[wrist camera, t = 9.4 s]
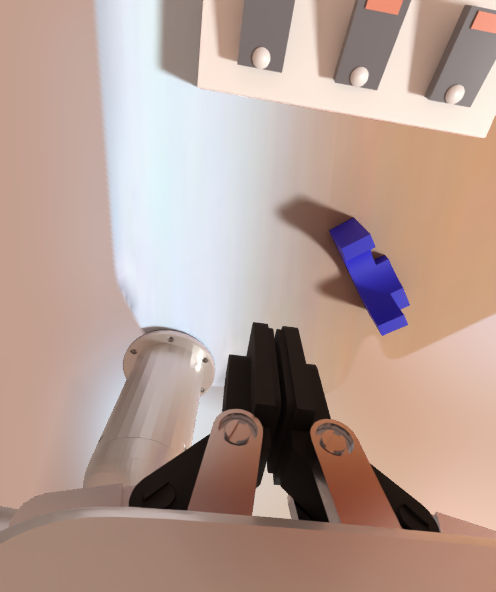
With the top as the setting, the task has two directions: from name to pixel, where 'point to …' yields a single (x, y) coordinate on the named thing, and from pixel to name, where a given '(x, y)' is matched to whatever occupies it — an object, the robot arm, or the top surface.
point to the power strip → (324, 56)
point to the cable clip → (371, 276)
